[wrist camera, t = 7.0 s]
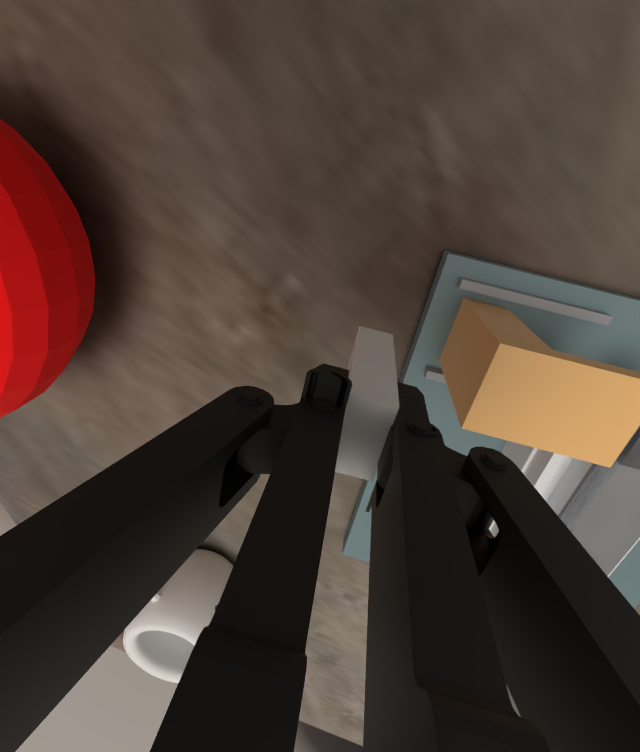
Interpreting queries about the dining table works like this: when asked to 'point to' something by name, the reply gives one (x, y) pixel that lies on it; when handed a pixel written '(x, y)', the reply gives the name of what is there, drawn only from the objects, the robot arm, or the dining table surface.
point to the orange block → (536, 388)
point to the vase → (38, 274)
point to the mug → (177, 616)
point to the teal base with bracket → (557, 330)
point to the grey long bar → (609, 508)
